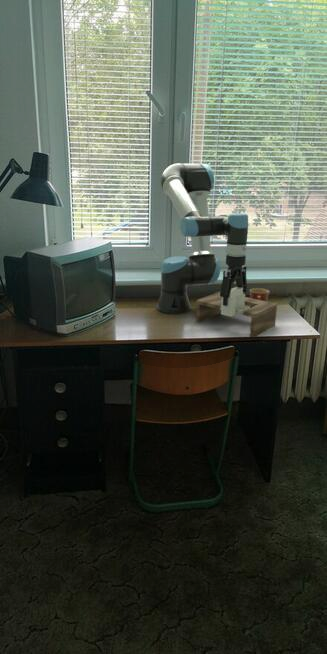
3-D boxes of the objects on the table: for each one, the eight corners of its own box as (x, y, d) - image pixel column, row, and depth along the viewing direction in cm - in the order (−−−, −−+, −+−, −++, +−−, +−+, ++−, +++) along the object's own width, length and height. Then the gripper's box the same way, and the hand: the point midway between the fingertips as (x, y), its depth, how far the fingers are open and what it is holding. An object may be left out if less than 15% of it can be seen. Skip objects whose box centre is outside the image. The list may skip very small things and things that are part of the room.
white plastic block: (221, 314, 193) (222, 290, 190) (233, 308, 200) (234, 286, 197) (231, 316, 190) (233, 293, 187) (244, 311, 197) (245, 288, 194)
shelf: (195, 321, 207) (196, 300, 204) (218, 311, 220) (219, 291, 217) (253, 337, 191) (255, 314, 188) (275, 325, 204) (277, 303, 201)
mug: (248, 309, 225) (250, 287, 221) (267, 310, 223) (269, 288, 220) (247, 317, 214) (249, 294, 210) (267, 318, 212) (269, 296, 208)
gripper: (229, 260, 177) (225, 318, 185) (258, 251, 193) (254, 305, 201) (212, 257, 181) (209, 314, 189) (242, 249, 198) (238, 302, 205)
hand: (232, 310), depth 195 cm, fingers closed on white plastic block, 9 cm apart
